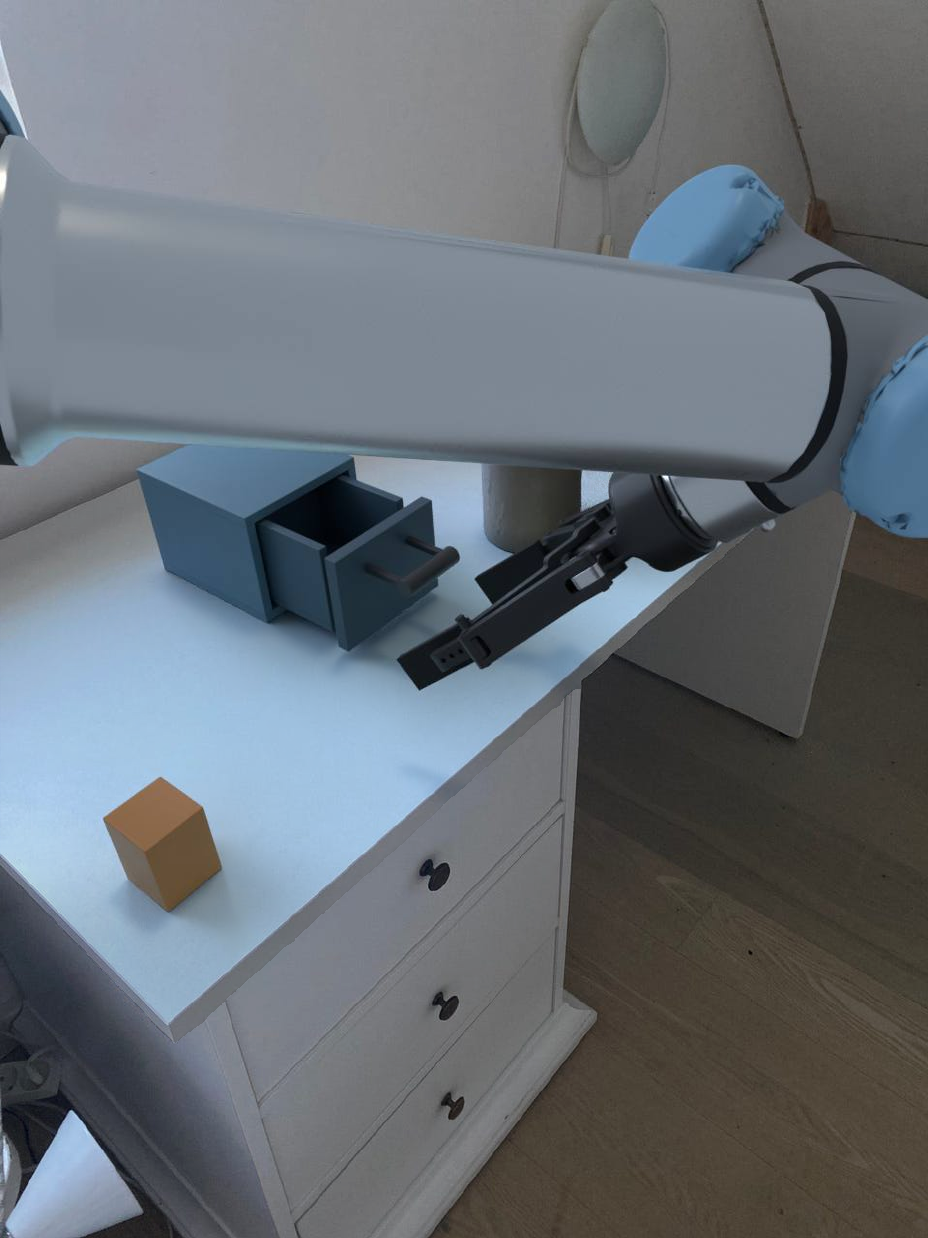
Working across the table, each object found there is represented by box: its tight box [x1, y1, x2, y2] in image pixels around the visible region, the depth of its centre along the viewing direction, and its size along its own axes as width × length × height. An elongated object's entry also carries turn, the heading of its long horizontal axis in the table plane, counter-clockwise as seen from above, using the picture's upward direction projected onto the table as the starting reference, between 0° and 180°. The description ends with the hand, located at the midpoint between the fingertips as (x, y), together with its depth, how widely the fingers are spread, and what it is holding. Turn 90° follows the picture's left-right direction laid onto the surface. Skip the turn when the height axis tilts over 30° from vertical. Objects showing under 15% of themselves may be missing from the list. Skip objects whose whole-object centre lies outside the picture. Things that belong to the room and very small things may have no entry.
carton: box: [102, 776, 223, 913], centre depth 60 cm, size 4×4×6 cm
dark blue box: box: [135, 444, 358, 624], centre depth 88 cm, size 15×13×11 cm
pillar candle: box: [480, 463, 583, 554], centre depth 89 cm, size 10×10×15 cm
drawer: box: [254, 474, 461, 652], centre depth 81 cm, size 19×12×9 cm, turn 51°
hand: (450, 628), depth 71 cm, fingers open, 13 cm apart
